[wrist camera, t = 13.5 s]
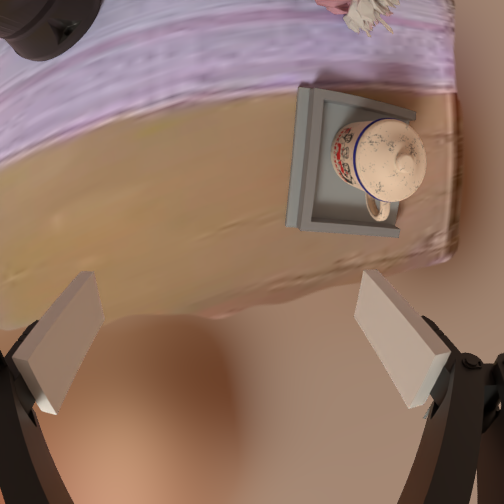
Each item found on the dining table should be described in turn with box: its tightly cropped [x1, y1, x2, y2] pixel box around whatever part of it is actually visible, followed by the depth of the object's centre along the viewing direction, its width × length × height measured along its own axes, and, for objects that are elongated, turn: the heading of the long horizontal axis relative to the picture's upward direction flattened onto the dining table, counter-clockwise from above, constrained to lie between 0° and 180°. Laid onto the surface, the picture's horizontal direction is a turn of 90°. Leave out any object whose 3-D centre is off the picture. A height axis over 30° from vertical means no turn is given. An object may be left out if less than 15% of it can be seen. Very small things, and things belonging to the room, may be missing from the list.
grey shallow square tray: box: [285, 87, 416, 238], centre depth 36 cm, size 18×16×3 cm
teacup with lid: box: [330, 118, 427, 221], centre depth 31 cm, size 12×9×12 cm
